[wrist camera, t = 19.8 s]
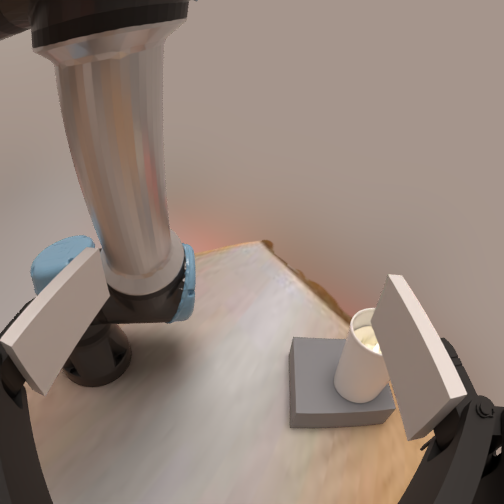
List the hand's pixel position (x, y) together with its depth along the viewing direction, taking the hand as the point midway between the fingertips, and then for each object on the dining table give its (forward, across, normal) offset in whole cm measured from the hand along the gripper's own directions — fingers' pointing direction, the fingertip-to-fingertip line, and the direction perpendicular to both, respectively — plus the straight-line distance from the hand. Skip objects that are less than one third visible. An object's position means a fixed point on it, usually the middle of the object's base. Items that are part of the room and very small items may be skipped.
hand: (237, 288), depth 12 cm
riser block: (+18, +16, -34) cm, 41 cm away
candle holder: (+16, +18, -29) cm, 38 cm away
